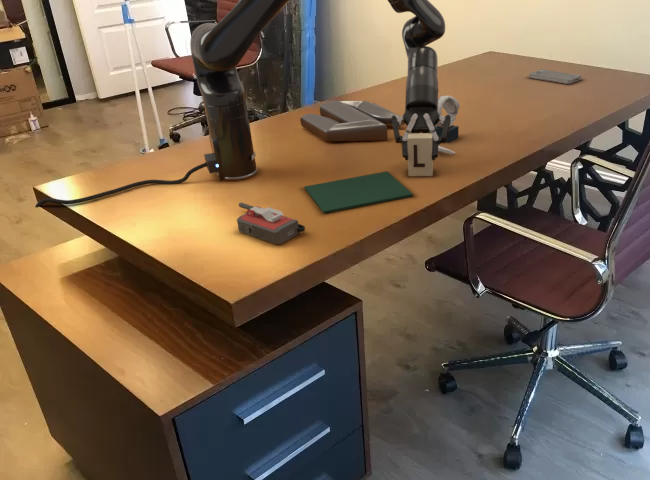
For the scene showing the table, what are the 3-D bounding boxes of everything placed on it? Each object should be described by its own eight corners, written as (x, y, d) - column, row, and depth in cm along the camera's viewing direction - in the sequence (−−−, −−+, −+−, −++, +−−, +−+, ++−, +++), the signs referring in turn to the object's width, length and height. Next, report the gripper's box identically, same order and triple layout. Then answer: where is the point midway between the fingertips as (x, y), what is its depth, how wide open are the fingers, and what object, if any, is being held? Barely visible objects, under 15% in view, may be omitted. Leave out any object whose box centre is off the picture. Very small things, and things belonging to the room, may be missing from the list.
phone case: (569, 84, 214) (569, 80, 214) (527, 77, 224) (528, 73, 223) (581, 79, 219) (582, 75, 219) (541, 72, 229) (541, 69, 228)
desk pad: (323, 213, 135) (323, 211, 134) (304, 188, 147) (304, 186, 146) (412, 196, 141) (412, 193, 141) (387, 173, 153) (387, 171, 152)
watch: (462, 135, 174) (462, 94, 168) (446, 144, 169) (446, 101, 163) (444, 132, 177) (444, 91, 171) (428, 141, 172) (427, 98, 166)
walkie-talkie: (313, 230, 128) (244, 208, 138) (311, 210, 126) (241, 188, 136) (281, 248, 122) (211, 223, 133) (278, 227, 120) (207, 203, 130)
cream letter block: (408, 176, 151) (407, 138, 146) (409, 170, 154) (408, 133, 149) (432, 176, 150) (431, 138, 145) (432, 170, 153) (432, 133, 149)
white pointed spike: (406, 145, 168) (406, 138, 167) (413, 143, 170) (413, 136, 169) (452, 158, 160) (452, 150, 159) (459, 155, 161) (459, 147, 160)
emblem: (419, 101, 185) (370, 129, 164) (419, 120, 187) (371, 150, 167) (335, 92, 196) (279, 117, 175) (337, 110, 199) (282, 137, 178)
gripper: (389, 83, 149) (387, 151, 145) (452, 82, 148) (451, 151, 144) (392, 100, 156) (390, 166, 153) (452, 99, 155) (451, 165, 151)
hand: (420, 158), depth 148 cm, fingers closed on cream letter block, 5 cm apart
